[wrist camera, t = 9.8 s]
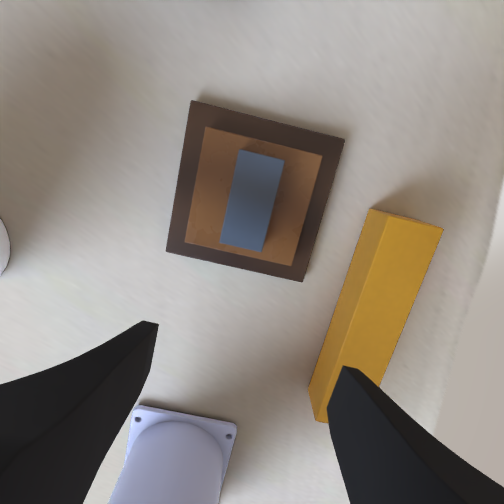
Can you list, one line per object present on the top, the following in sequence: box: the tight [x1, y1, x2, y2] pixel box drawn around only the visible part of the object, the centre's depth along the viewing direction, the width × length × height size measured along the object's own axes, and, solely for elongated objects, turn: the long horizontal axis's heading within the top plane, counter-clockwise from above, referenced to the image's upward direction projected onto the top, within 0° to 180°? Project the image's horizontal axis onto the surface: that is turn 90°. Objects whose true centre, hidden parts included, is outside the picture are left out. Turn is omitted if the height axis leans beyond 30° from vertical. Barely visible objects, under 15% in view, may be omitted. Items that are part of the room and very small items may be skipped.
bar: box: [308, 209, 444, 424], centre depth 20 cm, size 14×3×3 cm, turn 167°
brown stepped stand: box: [166, 100, 345, 282], centre depth 18 cm, size 9×9×3 cm
